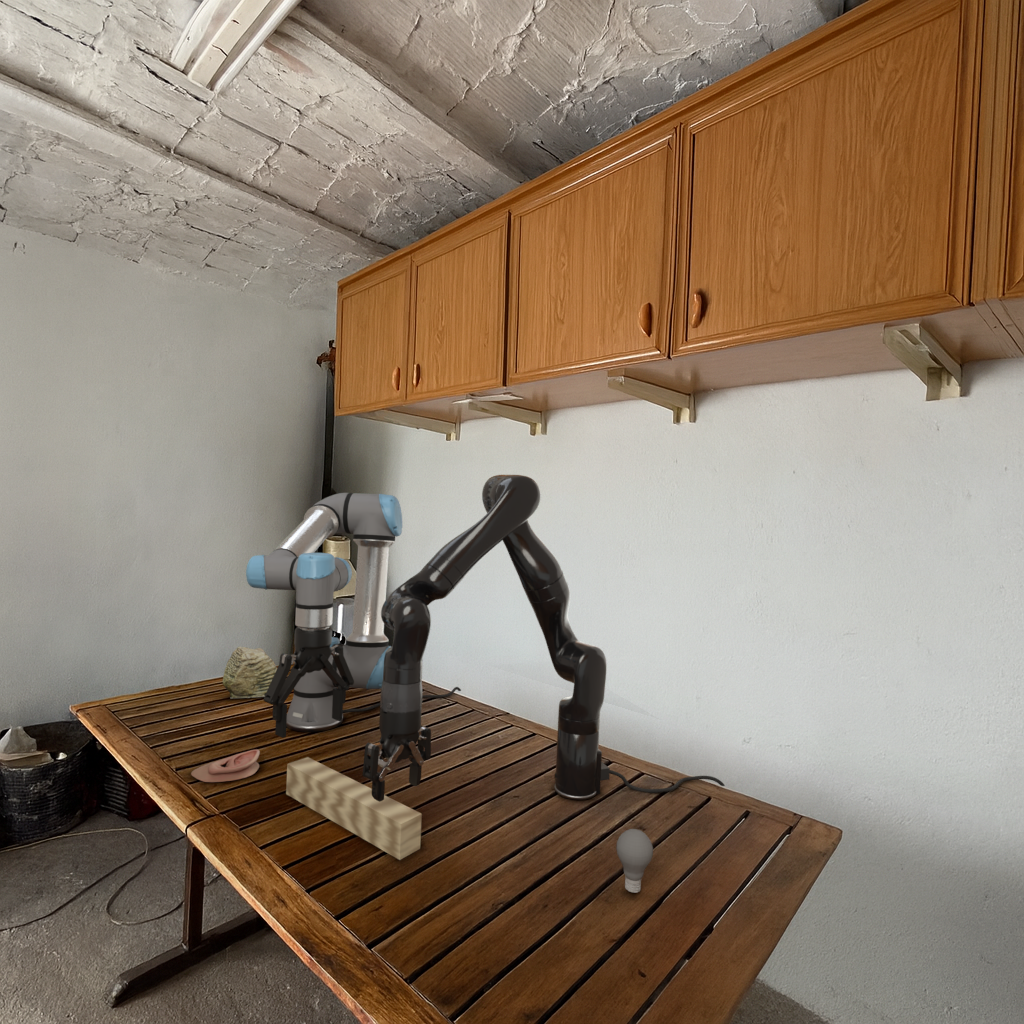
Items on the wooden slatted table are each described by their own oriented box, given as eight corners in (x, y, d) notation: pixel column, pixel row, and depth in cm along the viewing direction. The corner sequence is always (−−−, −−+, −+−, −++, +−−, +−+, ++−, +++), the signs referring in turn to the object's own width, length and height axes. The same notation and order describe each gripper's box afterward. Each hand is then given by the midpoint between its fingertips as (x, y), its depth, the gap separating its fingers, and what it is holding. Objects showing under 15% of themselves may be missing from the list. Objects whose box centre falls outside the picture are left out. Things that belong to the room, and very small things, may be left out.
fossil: (218, 695, 195) (220, 647, 195) (278, 685, 208) (279, 640, 207) (228, 703, 189) (230, 653, 188) (289, 692, 201) (290, 645, 201)
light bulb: (610, 879, 108) (613, 822, 108) (644, 879, 109) (647, 822, 109) (619, 902, 102) (622, 840, 102) (655, 901, 103) (658, 840, 103)
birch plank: (286, 794, 134) (287, 763, 134) (306, 786, 138) (307, 756, 138) (399, 860, 112) (401, 823, 112) (420, 848, 116) (421, 813, 116)
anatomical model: (182, 760, 139) (216, 741, 150) (181, 778, 139) (216, 758, 150) (236, 768, 136) (267, 748, 147) (235, 786, 136) (266, 765, 147)
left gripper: (351, 617, 145) (347, 709, 146) (248, 631, 126) (244, 738, 126) (372, 622, 140) (368, 717, 141) (268, 638, 121) (264, 748, 121)
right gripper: (416, 691, 124) (411, 774, 124) (356, 707, 113) (352, 798, 113) (443, 700, 119) (438, 786, 119) (384, 718, 108) (379, 812, 108)
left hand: (309, 727), depth 133 cm, fingers open, 13 cm apart
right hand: (396, 791), depth 116 cm, fingers open, 8 cm apart
